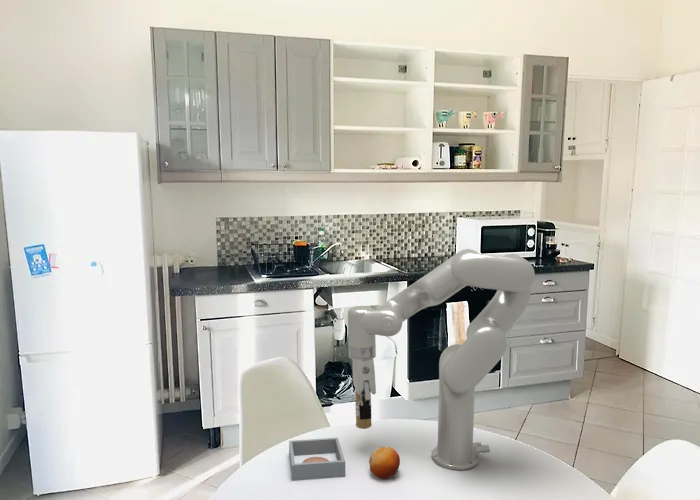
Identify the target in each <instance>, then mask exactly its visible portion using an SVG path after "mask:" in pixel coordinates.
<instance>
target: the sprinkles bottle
mask: <svg viewBox="0 0 700 500" xmlns="http://www.w3.org/2000/svg"><path fill="white" fill-rule="evenodd" d="M355 387H356V386H355ZM355 387H354V388H355ZM362 394H364V392H362ZM371 394H372V393H371V391H370V398H371V399H372V395H371ZM362 397H363V398H365V396H362ZM354 405H355V406H354V407H355V426H356V428H358V429H362V430H365V429H366V430H367V429H370V428H371V427H372V418H371V419H362V420H361V419H360V412H359V405H360V395H359V394H358V393H357V391H356V390H355V404H354Z"/></svg>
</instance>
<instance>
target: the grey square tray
mask: <svg viewBox="0 0 700 500" xmlns="http://www.w3.org/2000/svg"><path fill="white" fill-rule="evenodd" d="M288 444H289V445H288V455H289V456H288V457H289V465H290V466H289V467H290V474H291V475H290V476H291V481H302V480H303V481H304V480H305V481H306V480H318V479H319V480H320V479H331V478H344V477H346V459H345V456H344V453H343V450H342V446H341V443H340V440H339V438H338V437H327V438H326V437H325V438H313V439H309V438H308V439H299V440H297V439H294V440H289V442H288ZM323 454H325V455H326V454H335V457H336V460H329V459H328V458H326V457H324V456H310V457H307V458H305V459H303V461H302V462H300V463H299V462H297V463H295V456H307V455H323Z"/></svg>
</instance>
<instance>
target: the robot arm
mask: <svg viewBox="0 0 700 500" xmlns="http://www.w3.org/2000/svg"><path fill="white" fill-rule="evenodd" d="M535 274H536V273H535V269H534V267H533V265H532V264H531V262H529V261H528V260H527V259H525V257H524V258H523V256H521V255H519V254H515V253H508V254H505V255H502V256H499V255H492V254H483V253H479V252H478V251H476V250H474V249H470V248H464V249H462V250H460V251H458V252H456V253H455V254H454V255H452V256H451V257H449V258H448V259H446V260H445V261H443V262H442V263H441V264H440V265H438V266H437V267H435V268H434V269H432V270H430V271H429V272H428V273H427V274H425V275H424V276H422V277H421V278H419V279H418V280H416V281H415V282H413V283H412V284H410V285H409V286H407V287H405V288H404V289H403V290H401V291H400V292H398V293H397V294H396V295H394V296H392V297H391V298H390V299H388V300H387V301H385V302H384V303H383V304H382V305H380V307H379V308H378V309H374V308H373V307H371V306H368V305H356V306H353V307H350V308H349V309H348V311H347V333H348V334H347V337H348V339H347V340H348V342H347V343H348V344H347V345H348V358H349V359H351V360H352V383H353V387H354V389H355V392H356V391H357V393H358V394H359V395H360V405H359V412H360V419H361V420H362V419H371V420H372V397H371V398H370V391H371V394H372V395H376V394H377V387H376V385H377V384H376V373H375V372H376V371H375V362H374V359H375V358H376V357H377V354H376V353H377V349H376V348H377V347H376V345H377V344H376V335H377V336H382V337H393V336H396V335H397V334H399V332H401V330H402V326H403V322H405V321H406V320H408V319H410V317H412V316H414V315H415V314H416V313H418V312H420V311H421V310H423V309H426V308H428V307H434V306H435V307H436V306H439V305H441V304H443V302H445V301H446V300H448V299H449V298H451V297H452V296H454V295H455V294H456V293H458V292H459V291H461V290H462V289H463V288H465V287H467V286H468V287H474V288H480V289H487V290H496V292H495V294H494V296H493V297H492V298H491V300H490V301H489V302H488V304H487V305H486V306H485V307H484V308H483V309H482V310H481V312H479V313H478V315H477V316H476V317H475V318H474V319H473V320H472V321H471V322H469V324H468V326H467V328H466V332H465V333H466V334H465V335H466V339H465V340H464V341H463V343H461V344H452V345H449V346H447V347H446V348H445V349H444V350H443V351H442V353H441V354H440V357H439V363H438V373H439V374H438V379H439V382H438V418H437V419H438V420H437V446H435V447H433V449H432V450H431V452H430V453H431V459H432V461H433V462H434V463H435V464H437V466H440V467H443V468H445V469H449V470H458V471H465V470H469V469H472V468H474V467H475V466H477V465H478V463H479V454H481V453H483V454H484V453H485V454H486V453H490V452H491V447H490V445H489V444H484V445H483V444H482V442H481V441H479V442H478V441H477V442H474V424H475V423H474V422H475V421H474V420H475V401H476V400H475V399H476V397H475V395H476V393H475V392H476V387H477V386H478V384H480V383H481V381H482V380H483V379H484V378H485V377H486V376H487V375H488V374H489V373H490V372H491V370H493V368H494V367H495V366H496V365H497V364H498V363H499V361H501V359H502V358H503V356H504V355H505V352H506V351H507V346H508V338H507V334H508V333H509V331H511V329H512V328H513V327H514V326H515V324H516V323H517V322H518V321H519V319H520V318H521V317H522V316H523V314H524V313H525V311H526V310H527V307H528V305H529V303H530V299H531V294H532V284H533V283H534V281H535V276H536V275H535ZM355 386H356V387H355ZM362 392H364V394H362ZM362 396H365V398H363V397H362Z"/></svg>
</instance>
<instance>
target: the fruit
mask: <svg viewBox="0 0 700 500" xmlns="http://www.w3.org/2000/svg"><path fill="white" fill-rule="evenodd" d="M368 463H369V470H370V472H371V474H373V475H374V476H375V477H376V478H378V479H380V480H381V479H382V480H387V479H395V476H396V474H397V473H398V472H399V469H400V464H401V459H400V455H399V453H398V452H397V451H396V450H395V449H394V448H393V447H391V446H382V447H380V448H377V449H376V450H374V451H373V452H372V453H371V455H370V456H369V461H368Z"/></svg>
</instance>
